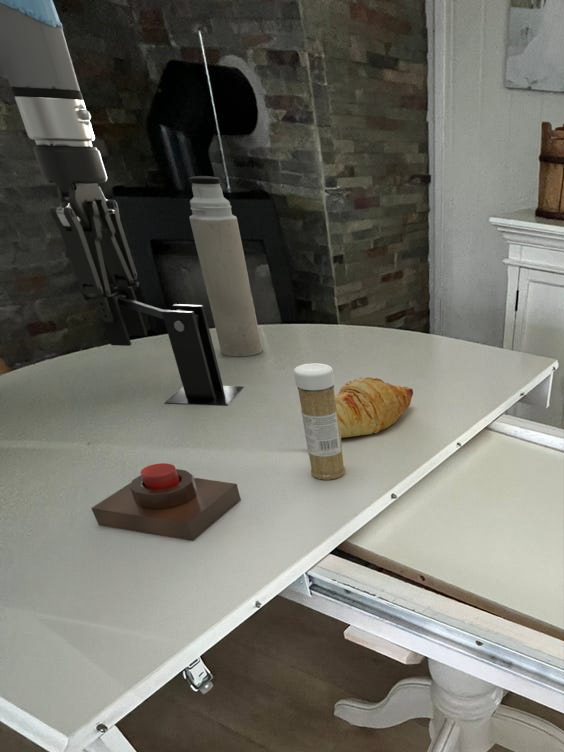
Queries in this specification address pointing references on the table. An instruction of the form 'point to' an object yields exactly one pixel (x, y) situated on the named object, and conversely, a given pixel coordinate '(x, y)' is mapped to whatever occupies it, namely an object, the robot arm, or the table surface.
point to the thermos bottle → (224, 268)
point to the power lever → (141, 306)
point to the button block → (168, 507)
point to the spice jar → (320, 419)
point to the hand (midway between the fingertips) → (129, 339)
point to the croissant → (370, 406)
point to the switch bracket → (196, 359)
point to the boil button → (160, 476)
